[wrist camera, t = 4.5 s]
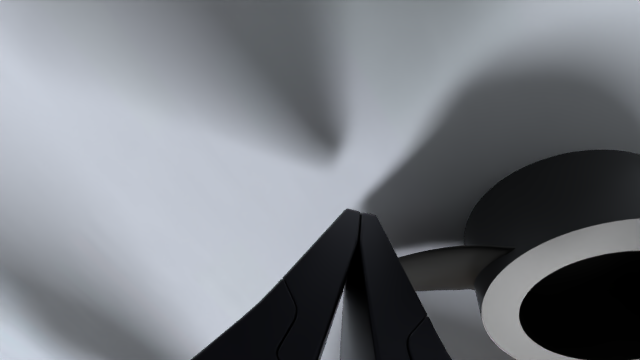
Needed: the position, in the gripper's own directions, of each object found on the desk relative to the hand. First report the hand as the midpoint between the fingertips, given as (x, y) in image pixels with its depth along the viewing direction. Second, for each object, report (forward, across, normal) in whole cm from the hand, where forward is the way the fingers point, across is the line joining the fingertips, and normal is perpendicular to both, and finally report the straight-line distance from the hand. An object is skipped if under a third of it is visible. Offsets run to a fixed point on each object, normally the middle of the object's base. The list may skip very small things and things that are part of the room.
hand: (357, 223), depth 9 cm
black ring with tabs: (+2, -6, 0) cm, 7 cm away
